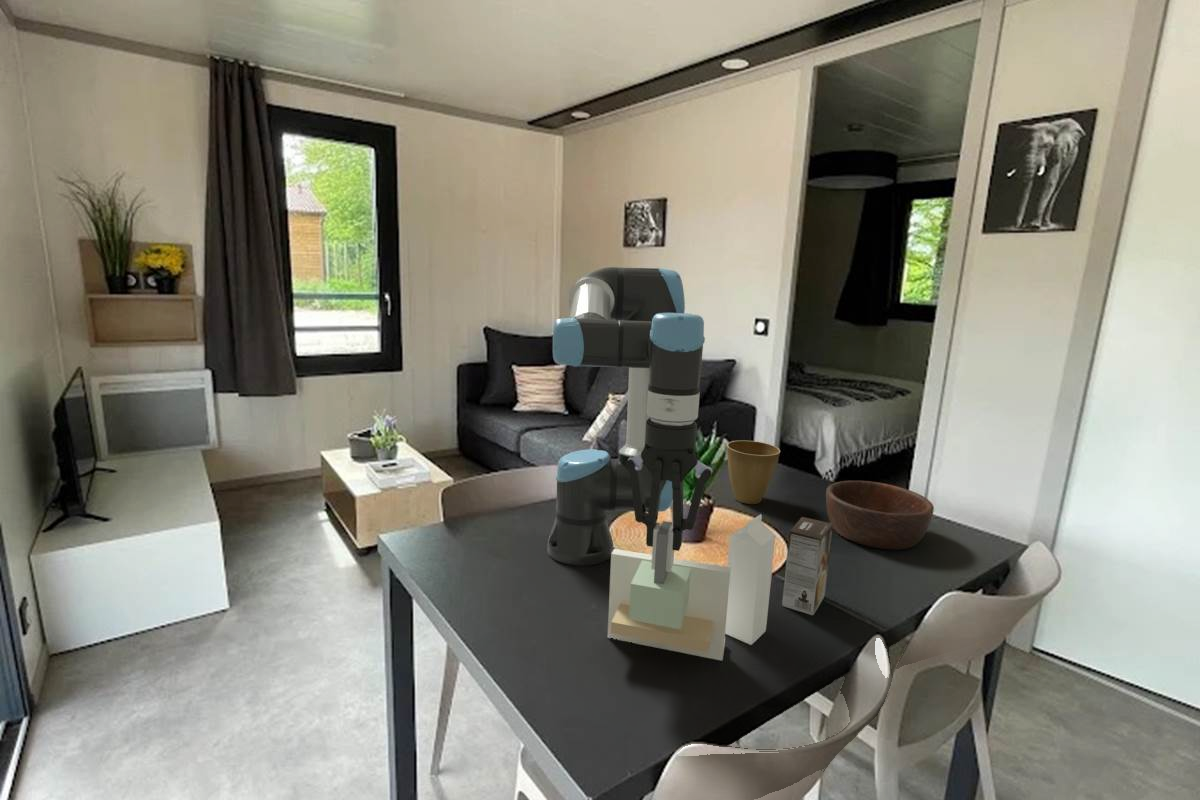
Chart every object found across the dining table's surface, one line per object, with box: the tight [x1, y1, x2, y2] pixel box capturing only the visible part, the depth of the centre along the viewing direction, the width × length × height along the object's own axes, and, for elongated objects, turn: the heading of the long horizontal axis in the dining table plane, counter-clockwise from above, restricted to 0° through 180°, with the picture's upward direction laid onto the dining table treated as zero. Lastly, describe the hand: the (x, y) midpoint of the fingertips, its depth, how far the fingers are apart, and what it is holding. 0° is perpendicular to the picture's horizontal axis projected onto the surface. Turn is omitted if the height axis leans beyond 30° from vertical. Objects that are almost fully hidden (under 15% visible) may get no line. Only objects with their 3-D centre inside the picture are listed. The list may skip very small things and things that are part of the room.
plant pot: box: [726, 440, 781, 505], centre depth 175 cm, size 15×15×16 cm
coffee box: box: [781, 516, 834, 616], centre depth 120 cm, size 9×6×16 cm
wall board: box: [607, 548, 731, 661], centre depth 102 cm, size 20×10×16 cm, turn 74°
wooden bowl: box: [825, 480, 935, 551], centre depth 155 cm, size 25×25×10 cm
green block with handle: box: [629, 520, 691, 629], centre depth 94 cm, size 8×8×14 cm
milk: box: [725, 514, 776, 646], centre depth 108 cm, size 6×6×22 cm
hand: (662, 566), depth 94 cm, fingers closed on green block with handle, 1 cm apart
